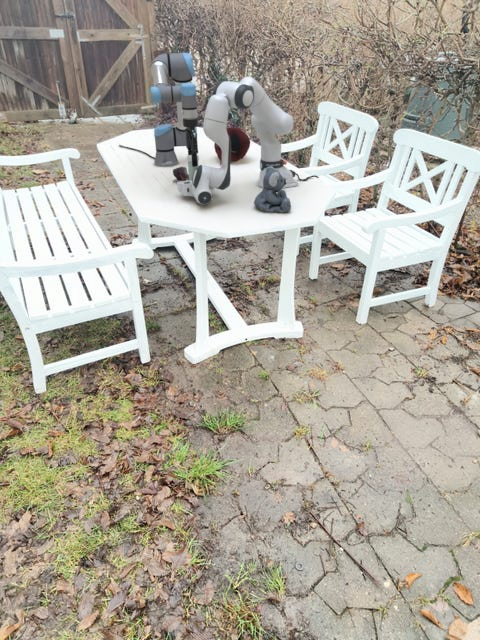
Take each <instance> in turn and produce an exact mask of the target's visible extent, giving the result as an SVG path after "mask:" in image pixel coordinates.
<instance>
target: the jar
mask: <svg viewBox="0 0 480 640" xmlns="http://www.w3.org/2000/svg"><path fill="white" fill-rule="evenodd" d="M197 163H198V164H199V161H197ZM198 166H199V165H198ZM198 166H195V167H192V162H189V161H187V173H188V175H189V180H192V178H193V173H194V171H195V169H196V168H197V167H198Z"/></svg>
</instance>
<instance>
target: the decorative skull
mask: <svg viewBox="0 0 480 640" xmlns="http://www.w3.org/2000/svg"><path fill="white" fill-rule="evenodd" d="M227 133H228V135H229V136H230V138H231V163H236V162H238V161H241V160H242V159H244V158H245V157H246V155H247V153H248V152H249V149H250V147H251V139H250V138H249V136H248V134H246V132H245V131H243V130H242V129H240V128H238V127H233V126H232V127H231V126H230V127H227ZM213 147H214V151H215V154H216V156H217V158H218V160H219V165H220V166H221V164H222V150H221V148H220V146H219V145H218V144H216V143H215V142H214V144H213Z"/></svg>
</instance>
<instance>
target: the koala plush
mask: <svg viewBox="0 0 480 640" xmlns="http://www.w3.org/2000/svg"><path fill="white" fill-rule="evenodd" d="M285 185H286V181H285V180H284V179H283V177H282V175H281V174H280V173H279V171H278V170H275V169H274V168H273V167H271V166H269V167H267V168H266V173H265V176H264V179H263V187H262V190H261V191H260V192H258V194H257V195H256V197H255V198H254V201H253V205H254V207H255V208H256V209H257V210H261V211H263V212H267V213H271V212H275V213H288V212H290V211H291V210H292V204H291V203H292V202H291V200H290V198H288V195H287V192H286V190H285V189H284V188H283V187H284V186H285Z"/></svg>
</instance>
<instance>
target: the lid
mask: <svg viewBox="0 0 480 640" xmlns="http://www.w3.org/2000/svg"><path fill="white" fill-rule="evenodd" d="M199 160H200V157H199V155H198V154H197V161H198V162H199ZM186 161H187V162H188V161H189V162H192V155H188V154H187V155H186Z"/></svg>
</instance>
